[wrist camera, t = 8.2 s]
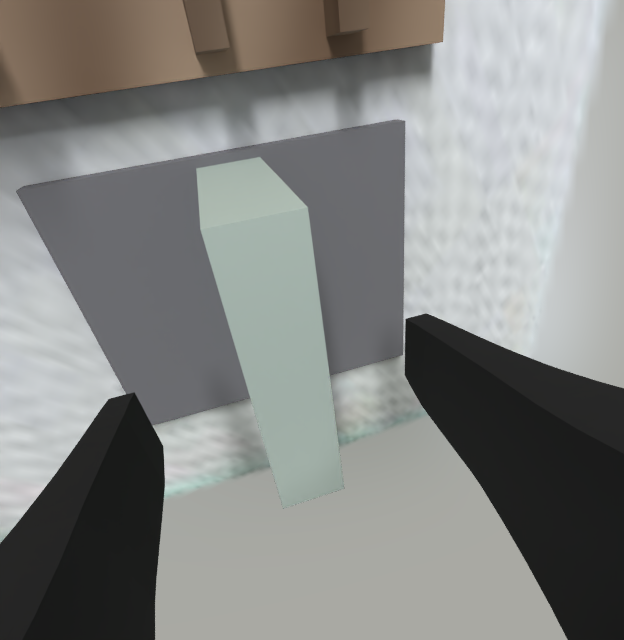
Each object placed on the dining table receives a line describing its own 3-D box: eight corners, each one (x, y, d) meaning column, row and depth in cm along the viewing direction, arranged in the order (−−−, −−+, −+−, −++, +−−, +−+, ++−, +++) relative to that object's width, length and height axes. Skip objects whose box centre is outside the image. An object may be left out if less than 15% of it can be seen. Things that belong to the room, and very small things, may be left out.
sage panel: (255, 383, 17) (283, 508, 12) (196, 168, 12) (200, 229, 7) (299, 371, 17) (344, 488, 12) (259, 156, 12) (307, 207, 7)
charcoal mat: (146, 417, 17) (144, 427, 16) (23, 186, 11) (15, 190, 11) (397, 347, 19) (403, 354, 18) (396, 119, 13) (405, 121, 13)
